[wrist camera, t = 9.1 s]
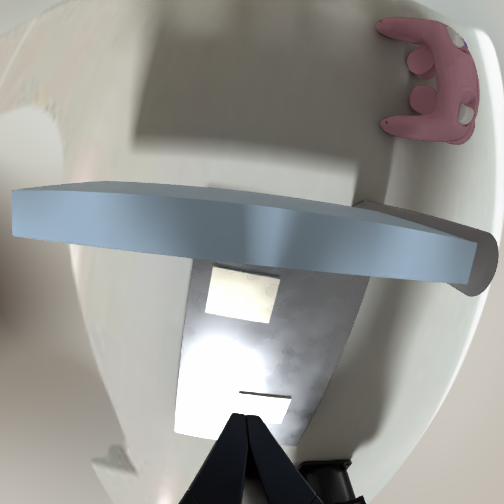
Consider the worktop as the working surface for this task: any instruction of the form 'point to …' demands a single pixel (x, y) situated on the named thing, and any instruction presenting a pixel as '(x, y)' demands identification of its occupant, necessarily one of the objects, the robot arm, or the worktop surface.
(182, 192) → the light blue flat slab
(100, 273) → the worktop surface
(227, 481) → the robot arm
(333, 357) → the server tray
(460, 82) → the video game controller
